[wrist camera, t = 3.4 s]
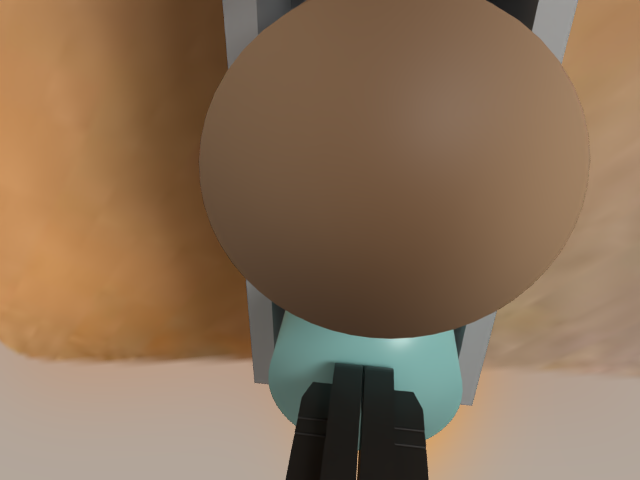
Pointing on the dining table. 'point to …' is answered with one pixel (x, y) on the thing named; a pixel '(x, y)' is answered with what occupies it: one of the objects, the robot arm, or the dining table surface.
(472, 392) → the grey compartment tray
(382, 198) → the brown rounded cylinder
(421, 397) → the teal rounded cylinder
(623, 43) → the dining table surface
